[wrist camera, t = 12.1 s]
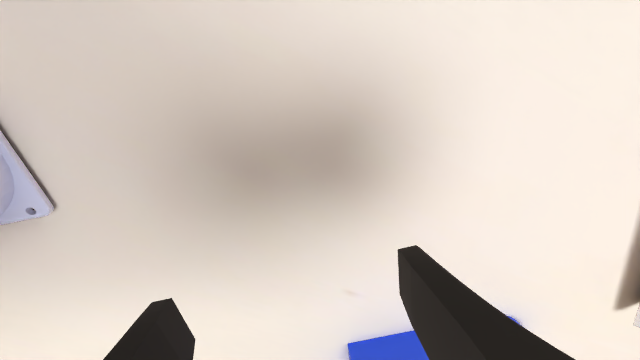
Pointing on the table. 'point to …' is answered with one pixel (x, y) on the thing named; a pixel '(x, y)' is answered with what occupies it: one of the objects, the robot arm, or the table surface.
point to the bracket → (390, 348)
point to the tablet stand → (637, 318)
